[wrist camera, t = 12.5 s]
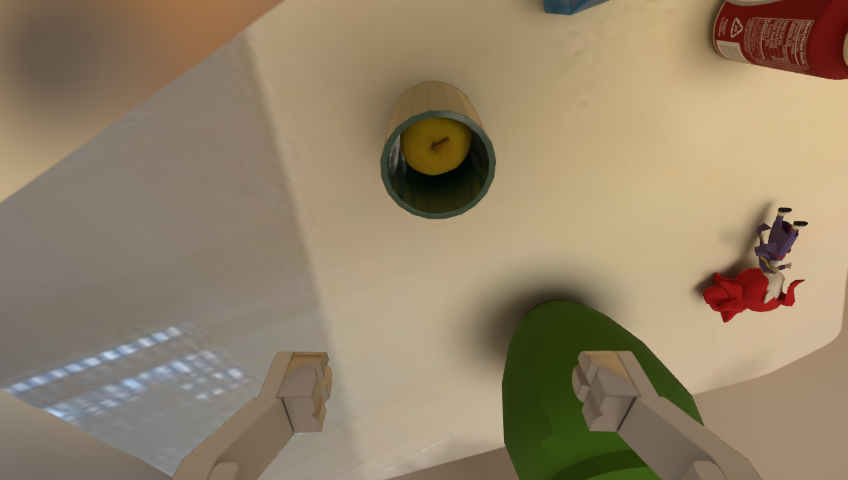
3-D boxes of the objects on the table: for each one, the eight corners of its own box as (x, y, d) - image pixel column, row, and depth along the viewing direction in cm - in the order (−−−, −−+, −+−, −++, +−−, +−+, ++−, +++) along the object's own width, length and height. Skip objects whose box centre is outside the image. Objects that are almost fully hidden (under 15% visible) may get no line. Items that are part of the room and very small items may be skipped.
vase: (625, 251, 45) (794, 456, 25) (621, 353, 56) (737, 556, 35) (471, 283, 48) (508, 493, 27) (494, 374, 58) (533, 575, 38)
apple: (469, 91, 34) (482, 113, 28) (463, 157, 38) (472, 190, 31) (402, 88, 34) (397, 110, 27) (401, 154, 38) (397, 187, 31)
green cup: (388, 81, 34) (377, 110, 25) (480, 81, 34) (501, 110, 25) (392, 167, 39) (384, 219, 30) (472, 167, 39) (489, 219, 30)
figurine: (810, 200, 41) (761, 298, 49) (721, 202, 43) (689, 296, 51) (852, 232, 36) (789, 335, 44) (749, 233, 38) (708, 331, 46)
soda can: (727, 76, 34) (855, 107, 24) (693, 21, 32) (819, 30, 22) (806, 12, 32) (986, 17, 21) (774, -54, 29) (961, -83, 19)
